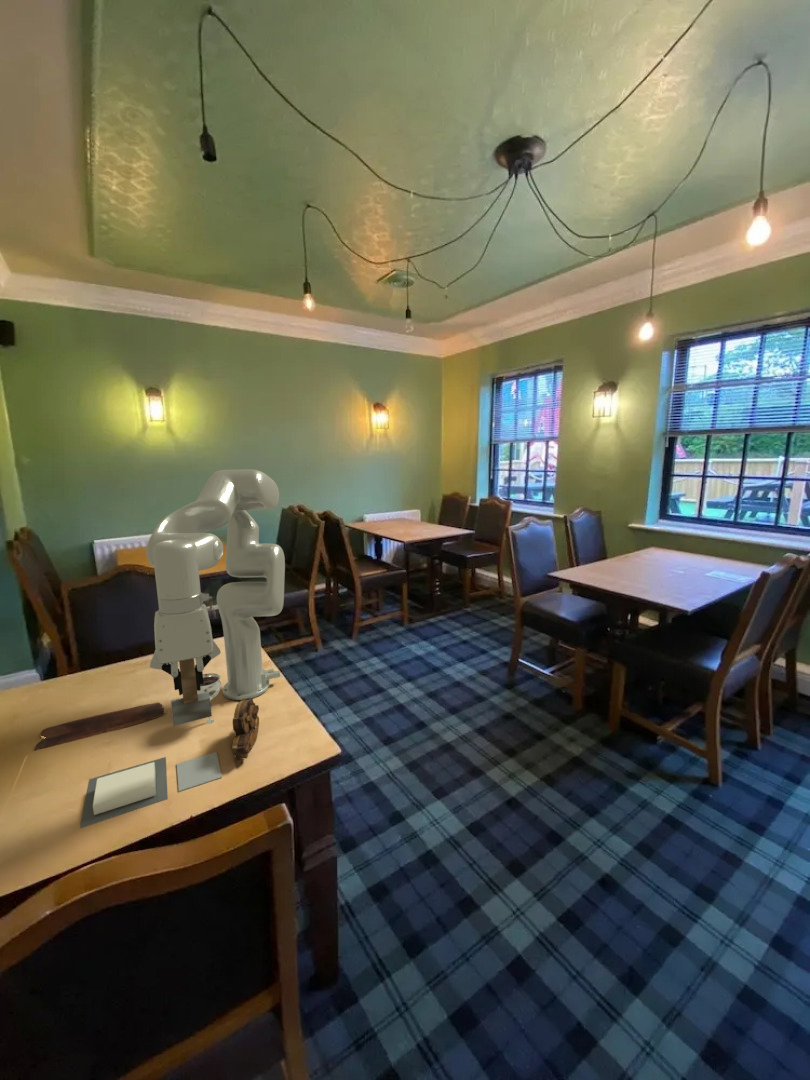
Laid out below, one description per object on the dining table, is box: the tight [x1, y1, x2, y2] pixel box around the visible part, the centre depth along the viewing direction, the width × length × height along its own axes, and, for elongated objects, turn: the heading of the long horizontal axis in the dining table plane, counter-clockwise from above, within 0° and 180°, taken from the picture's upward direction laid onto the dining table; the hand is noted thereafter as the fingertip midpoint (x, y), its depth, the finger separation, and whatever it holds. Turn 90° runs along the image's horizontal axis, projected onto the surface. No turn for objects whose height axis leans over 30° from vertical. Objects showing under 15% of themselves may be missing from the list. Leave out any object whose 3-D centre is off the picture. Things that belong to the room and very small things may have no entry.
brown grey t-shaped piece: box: [170, 658, 213, 727], centre depth 90 cm, size 7×3×15 cm, turn 119°
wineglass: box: [197, 672, 222, 725], centre depth 111 cm, size 7×7×12 cm
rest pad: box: [176, 751, 223, 793], centre depth 95 cm, size 8×9×1 cm
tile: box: [93, 762, 156, 815], centre depth 88 cm, size 10×2×8 cm
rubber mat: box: [79, 756, 169, 829], centre depth 90 cm, size 14×14×1 cm
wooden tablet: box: [34, 702, 165, 752], centre depth 112 cm, size 26×2×10 cm
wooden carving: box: [231, 697, 260, 761], centre depth 103 cm, size 16×5×10 cm, turn 12°
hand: (189, 689), depth 91 cm, fingers closed on brown grey t-shaped piece, 2 cm apart
